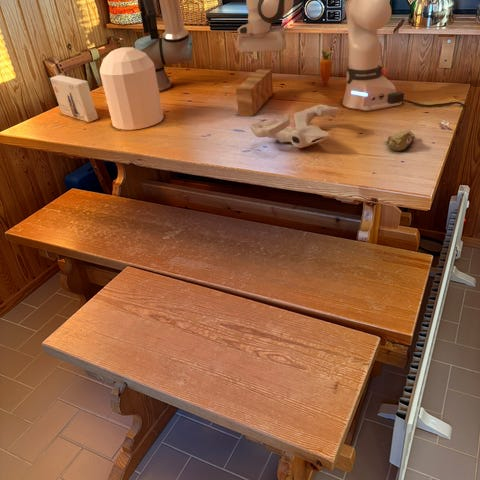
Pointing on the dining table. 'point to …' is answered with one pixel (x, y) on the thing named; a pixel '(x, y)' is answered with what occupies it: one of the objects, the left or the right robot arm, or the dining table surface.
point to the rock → (400, 140)
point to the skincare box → (74, 97)
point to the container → (131, 89)
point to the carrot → (325, 67)
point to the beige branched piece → (297, 127)
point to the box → (254, 92)
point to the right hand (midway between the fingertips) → (263, 62)
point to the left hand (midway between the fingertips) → (151, 35)
